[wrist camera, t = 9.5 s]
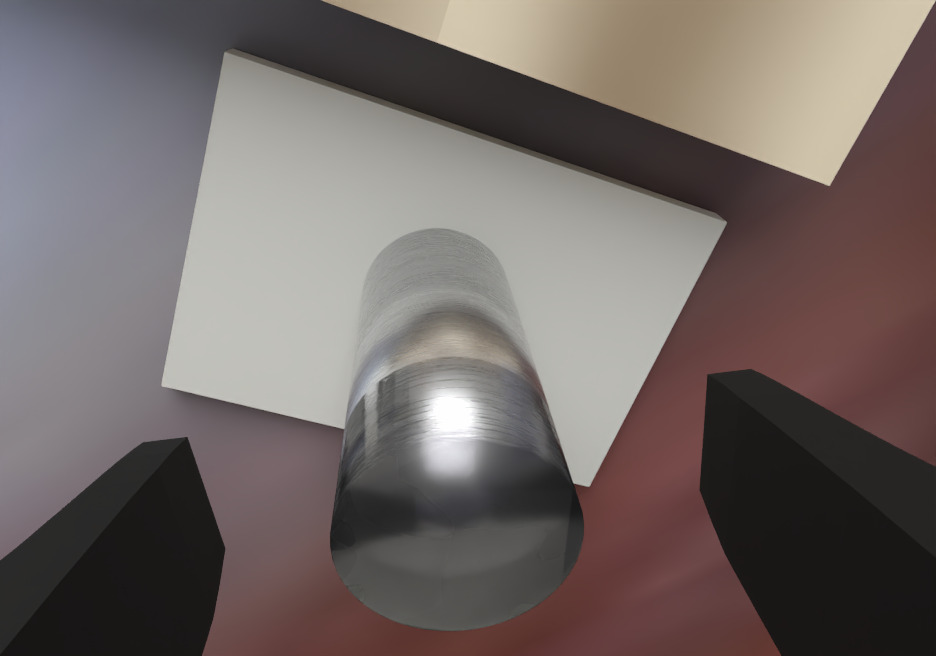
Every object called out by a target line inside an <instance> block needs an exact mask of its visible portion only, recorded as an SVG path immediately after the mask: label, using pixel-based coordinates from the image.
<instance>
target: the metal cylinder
mask: <svg viewBox="0 0 936 656" xmlns="http://www.w3.org/2000/svg"><path fill="white" fill-rule="evenodd" d="M583 536H584V521H583V513H582V509H581V506H580V502H579V499H578V496H577V493H576V490H575V487H574V484H573V481H572V478H571V475H570V471H569V468H568V465H567V462H566V459H565V456H564V453H563V450H562V447H561V444H560V440H559V437H558V434H557V431H556V428H555V425H554V422H553V419H552V416H551V413H550V410H549V406H548V403H547V400H546V397H545V394H544V391H543V388H542V385H541V382H540V379H539V376H538V372H537V369H536V366H535V363H534V360H533V357H532V354H531V351H530V348H529V345H528V341H527V338H526V335H525V332H524V329H523V326H522V323H521V320H520V317H519V314H518V311H517V307H516V304H515V301H514V298H513V295H512V292H511V289H510V286H509V283H508V280H507V277H506V273H505V271H504V269H503V267H502V264H501V263H500V261H499V260H498V258H497V257H496V255H495V254H494V253H493V252H492V251H491V250H490V249H489V248H488V247H487V246H486V245H485V244H483V243H482V242H480V241H479V240H477V239H476V238H474V237H472V236H470V235H468V234H465V233H462V232H459V231H456V230H451V229H442V228H432V229H424V230H418V231H415V232H412V233H408V234H406V235H404V236H402V237H400V238H398V239H396V240H395V241H393V242H392V243H390V244H389V245H388V246H387V247H385V248H384V249H383V250H382V251H381V252H380V254H379V255H378V256H377V257H376V258H375V260H374V261H373V263H372V264H371V266H370V268H369V270H368V272H367V275H366V278H365V282H364V288H363V294H362V302H361V309H360V317H359V324H358V332H357V339H356V346H355V354H354V361H353V369H352V376H351V384H350V391H349V398H348V406H347V413H346V421H345V428H344V436H343V443H342V450H341V458H340V465H339V473H338V480H337V488H336V495H335V502H334V510H333V517H332V525H331V532H330V547H331V554H332V559H333V562H334V565H335V568H336V570H337V572H338V574H339V576H340V578H341V580H342V582H343V583H344V584H345V585H346V587H347V588H348V589H349V591H350V592H351V593H352V594H353V595H354V596H355V597H356V598H357V599H358V600H359V601H360V602H362V603H363V604H364V605H366V606H367V607H368V608H370V609H371V610H373V611H374V612H376V613H378V614H380V615H381V616H383V617H386V618H388V619H390V620H393V621H395V622H398V623H401V624H404V625H407V626H411V627H416V628H421V629H426V630H436V631H461V630H472V629H477V628H483V627H488V626H491V625H495V624H498V623H502V622H504V621H507V620H509V619H512V618H515V617H517V616H519V615H521V614H523V613H525V612H527V611H529V610H530V609H532V608H533V607H535V606H536V605H538V604H540V603H541V602H542V601H544V600H545V599H546V598H547V597H549V596H550V595H551V594H552V593H553V592H554V591H555V590H556V589H557V588H558V587H559V586H560V585H561V584H562V583H563V581H564V580H565V579H566V577H567V576H568V575H569V574H570V572H571V570H572V568H573V567H574V565H575V563H576V561H577V558H578V556H579V553H580V551H581V546H582V542H583Z"/></svg>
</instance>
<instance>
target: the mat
mask: <svg viewBox="0 0 936 656" xmlns="http://www.w3.org/2000/svg"><path fill="white" fill-rule="evenodd" d="M726 224H727V222H726V221H725V220H724V219H722V218H721V217H720V216H719V215H717V214H716V213H714V212H711V211H708V210H705V209H702V208H699V207H696V206H693V205H690V204H687V203H685V202H682V201H679V200H676V199H673V198H670V197H667V196H664V195H661V194H658V193H655V192H652V191H649V190H646V189H643V188H641V187H638V186H635V185H632V184H629V183H626V182H623V181H620V180H617V179H614V178H611V177H608V176H605V175H602V174H600V173H597V172H594V171H591V170H588V169H585V168H582V167H579V166H576V165H573V164H570V163H567V162H564V161H561V160H558V159H556V158H553V157H550V156H547V155H544V154H541V153H538V152H535V151H532V150H529V149H526V148H523V147H520V146H517V145H515V144H512V143H509V142H506V141H503V140H500V139H497V138H494V137H491V136H488V135H485V134H482V133H479V132H476V131H473V130H471V129H468V128H465V127H462V126H459V125H456V124H453V123H450V122H447V121H444V120H441V119H438V118H435V117H432V116H430V115H427V114H424V113H421V112H418V111H415V110H412V109H409V108H406V107H403V106H400V105H397V104H394V103H391V102H388V101H386V100H383V99H380V98H377V97H374V96H371V95H368V94H365V93H362V92H359V91H356V90H353V89H350V88H347V87H345V86H342V85H339V84H336V83H333V82H330V81H327V80H324V79H321V78H318V77H315V76H312V75H309V74H306V73H303V72H301V71H298V70H295V69H292V68H289V67H286V66H283V65H280V64H277V63H274V62H271V61H268V60H265V59H262V58H260V57H257V56H254V55H251V54H248V53H245V52H242V51H239V50H236V49H233V48H231V49H229V50H227V51H225V52H224V57H223V62H222V68H221V73H220V78H219V83H218V89H217V94H216V99H215V105H214V110H213V115H212V120H211V126H210V131H209V136H208V142H207V147H206V152H205V157H204V163H203V168H202V173H201V179H200V184H199V189H198V194H197V200H196V205H195V210H194V215H193V221H192V226H191V231H190V237H189V242H188V247H187V252H186V258H185V263H184V268H183V274H182V279H181V284H180V289H179V295H178V300H177V305H176V311H175V316H174V321H173V326H172V332H171V337H170V342H169V348H168V353H167V358H166V363H165V369H164V374H163V379H162V385H161V386H164V387H168V388H172V389H177V390H181V391H185V392H189V393H194V394H198V395H202V396H206V397H210V398H215V399H219V400H223V401H227V402H232V403H236V404H240V405H244V406H249V407H253V408H257V409H261V410H266V411H270V412H274V413H278V414H282V415H287V416H291V417H295V418H299V419H304V420H308V421H312V422H316V423H321V424H325V425H329V426H333V427H337V428H342V429H344V428H345V421H346V413H347V406H348V398H349V391H350V384H351V376H352V369H353V361H354V354H355V346H356V339H357V332H358V324H359V317H360V309H361V302H362V294H363V288H364V282H365V278H366V275H367V272H368V270H369V268H370V266H371V264H372V263H373V261H374V260H375V258H376V257H377V256H378V255H379V254H380V252H381V251H382V250H383V249H384V248H385V247H387V246H388V245H389V244H390V243H392V242H393V241H395V240H396V239H398V238H400V237H402V236H404V235H406V234H408V233H412V232H415V231H418V230H424V229H432V228H442V229H451V230H456V231H459V232H462V233H465V234H468V235H470V236H472V237H474V238H476V239H477V240H479V241H480V242H482V243H483V244H485V245H486V246H487V247H488V248H489V249H490V250H491V251H492V252H493V253H494V254H495V255H496V257H497V258H498V260H499V261H500V263H501V264H502V267H503V269H504V271H505V273H506V277H507V280H508V283H509V286H510V289H511V292H512V295H513V298H514V301H515V304H516V307H517V311H518V314H519V317H520V320H521V323H522V326H523V329H524V332H525V335H526V338H527V341H528V345H529V348H530V351H531V354H532V357H533V360H534V363H535V366H536V369H537V372H538V376H539V379H540V382H541V385H542V388H543V391H544V394H545V397H546V400H547V403H548V406H549V410H550V413H551V416H552V419H553V422H554V425H555V428H556V431H557V434H558V437H559V440H560V444H561V447H562V450H563V453H564V456H565V459H566V462H567V465H568V468H569V471H570V475H571V478H572V481H573V483H574V484H579V485H583V486H587V487H589V486H590V484H591V482H592V481H593V479H594V477H595V475H596V473H597V471H598V469H599V467H600V465H601V463H602V461H603V459H604V458H605V456H606V454H607V452H608V450H609V448H610V446H611V444H612V442H613V440H614V438H615V436H616V435H617V433H618V431H619V429H620V427H621V425H622V423H623V421H624V419H625V417H626V415H627V413H628V412H629V410H630V408H631V406H632V404H633V402H634V400H635V398H636V396H637V394H638V392H639V391H640V389H641V387H642V385H643V383H644V381H645V379H646V377H647V375H648V373H649V371H650V369H651V368H652V366H653V364H654V362H655V360H656V358H657V356H658V354H659V352H660V350H661V348H662V346H663V345H664V343H665V341H666V339H667V337H668V335H669V333H670V331H671V329H672V327H673V325H674V323H675V322H676V320H677V318H678V316H679V314H680V312H681V310H682V308H683V306H684V304H685V302H686V300H687V299H688V297H689V295H690V293H691V291H692V289H693V287H694V285H695V283H696V281H697V279H698V278H699V276H700V274H701V272H702V270H703V268H704V266H705V264H706V262H707V260H708V258H709V256H710V255H711V253H712V251H713V249H714V247H715V245H716V243H717V241H718V239H719V237H720V235H721V233H722V232H723V230H724V228H725V226H726Z"/></svg>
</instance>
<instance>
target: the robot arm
mask: <svg viewBox="0 0 936 656" xmlns="http://www.w3.org/2000/svg"><path fill="white" fill-rule="evenodd" d="M700 492H701V495H702V497H703V500H704V503H705V505H706V508H707V510H708V513H709V516H710V518H711V521H712V524H713V526H714V528H715V531H716V533H717V536H718V538H719V541H720V543H721V545H722V548H723V550H724V553H725V555H726V556H727V558H728V560H729V562H730V564H731V566H732V568H733V570H734V571H735V573H736V575H737V577H738V579H739V580H740V582H741V584H742V586H743V588H744V589H745V591H746V593H747V595H748V597H749V598H750V600H751V602H752V604H753V606H754V607H755V609H756V611H757V613H758V615H759V616H760V618H761V620H762V622H763V623H764V625H765V627H766V629H767V631H768V632H769V634H770V636H771V638H772V639H773V641H774V643H775V645H776V647H777V648H778V650H779V652H780V654H781V655H782V656H936V467H935V466H933V465H931V464H929V463H927V462H925V461H923V460H921V459H919V458H917V457H915V456H913V455H911V454H909V453H907V452H905V451H903V450H901V449H899V448H897V447H895V446H894V445H892V444H890V443H888V442H886V441H884V440H882V439H880V438H878V437H877V436H875V435H873V434H871V433H869V432H867V431H865V430H864V429H862V428H860V427H858V426H856V425H854V424H853V423H851V422H849V421H847V420H845V419H844V418H842V417H840V416H838V415H836V414H834V413H833V412H831V411H829V410H827V409H825V408H824V407H822V406H820V405H818V404H816V403H815V402H813V401H811V400H809V399H808V398H806V397H804V396H802V395H800V394H799V393H797V392H795V391H793V390H791V389H789V388H788V387H786V386H784V385H782V384H780V383H778V382H776V381H775V380H773V379H771V378H769V377H767V376H765V375H763V374H761V373H759V372H756V371H754V370H752V369H748V370H739V371H731V372H723V373H715V374H708V376H707V391H706V405H705V420H704V434H703V449H702V463H701V477H700ZM224 554H225V546H224V543H223V540H222V537H221V534H220V532H219V529H218V526H217V523H216V520H215V517H214V514H213V511H212V508H211V505H210V502H209V499H208V496H207V493H206V490H205V487H204V485H203V482H202V479H201V476H200V473H199V470H198V467H197V464H196V461H195V458H194V455H193V452H192V449H191V446H190V443H189V440H188V437H184V438H176V439H167V440H159V441H151V442H143V443H141V444H140V445H139V446H137V447H136V448H135V449H133V450H132V451H131V452H129V453H128V454H127V455H125V456H124V457H123V458H122V459H120V460H119V461H118V462H117V463H116V464H114V465H113V466H112V467H111V468H110V469H108V470H107V471H106V472H105V473H104V474H102V475H101V476H100V477H99V478H98V479H97V480H95V481H94V482H93V483H92V484H91V485H90V486H88V487H87V488H86V489H85V490H84V491H83V492H81V493H80V494H79V495H78V496H77V497H76V498H74V499H73V500H72V501H71V502H70V503H69V504H67V505H66V506H65V507H64V508H63V509H62V510H60V511H59V512H58V513H57V514H56V515H54V516H53V517H52V518H51V519H50V520H49V521H47V522H46V523H45V524H44V525H43V526H42V527H40V528H39V529H38V530H37V531H36V532H34V533H33V534H32V535H31V536H30V537H29V538H27V539H26V540H25V541H24V542H23V543H22V544H20V545H19V546H18V547H17V548H15V549H14V550H13V551H12V552H11V553H9V554H8V555H7V556H5V557H4V558H3V559H2V560H0V656H202V654H203V650H204V647H205V644H206V641H207V637H208V634H209V631H210V627H211V624H212V621H213V617H214V612H215V606H216V601H217V596H218V591H219V585H220V579H221V573H222V566H223V560H224Z"/></svg>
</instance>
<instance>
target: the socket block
mask: <svg viewBox="0 0 936 656" xmlns="http://www.w3.org/2000/svg"><path fill="white" fill-rule="evenodd" d="M322 1H324V2H327V3H330V4H332V5H335V6H338V7H341V8H343V9H346V10H349V11H352V12H354V13H357V14H360V15H363V16H365V17H368V18H371V19H374V20H376V21H379V22H382V23H385V24H387V25H390V26H393V27H395V28H398V29H401V30H404V31H406V32H409V33H412V34H415V35H417V36H420V37H423V38H426V39H428V40H431V41H434V42H437V43H439V44H442V45H445V46H448V47H450V48H453V49H456V50H459V51H461V52H464V53H467V54H469V55H472V56H475V57H478V58H480V59H483V60H486V61H489V62H491V63H494V64H497V65H500V66H502V67H505V68H508V69H511V70H513V71H516V72H519V73H522V74H524V75H527V76H530V77H533V78H535V79H538V80H541V81H543V82H546V83H549V84H552V85H554V86H557V87H560V88H563V89H565V90H568V91H571V92H574V93H576V94H579V95H582V96H585V97H587V98H590V99H593V100H596V101H598V102H601V103H604V104H606V105H609V106H612V107H615V108H617V109H620V110H623V111H626V112H628V113H631V114H634V115H637V116H639V117H642V118H645V119H648V120H650V121H653V122H656V123H659V124H661V125H664V126H667V127H670V128H672V129H675V130H678V131H680V132H683V133H686V134H689V135H691V136H694V137H697V138H700V139H702V140H705V141H708V142H711V143H713V144H716V145H719V146H722V147H724V148H727V149H730V150H733V151H735V152H738V153H741V154H743V155H746V156H749V157H752V158H754V159H757V160H760V161H763V162H765V163H768V164H771V165H774V166H776V167H779V168H782V169H785V170H787V171H790V172H793V173H796V174H798V175H801V176H804V177H807V178H809V179H812V180H815V181H817V182H820V183H823V184H826V185H828V186H830V184H831V182H832V181H833V179H834V177H835V175H836V174H837V172H838V170H839V168H840V167H841V165H842V163H843V161H844V160H845V158H846V156H847V154H848V153H849V151H850V149H851V147H852V146H853V144H854V142H855V141H856V139H857V137H858V135H859V134H860V132H861V130H862V128H863V127H864V125H865V123H866V121H867V120H868V118H869V116H870V114H871V113H872V111H873V109H874V107H875V106H876V104H877V102H878V100H879V99H880V97H881V95H882V93H883V92H884V90H885V88H886V86H887V85H888V83H889V81H890V79H891V78H892V76H893V74H894V72H895V71H896V69H897V67H898V65H899V64H900V62H901V60H902V58H903V57H904V55H905V53H906V51H907V50H908V48H909V46H910V44H911V43H912V41H913V39H914V37H915V36H916V34H917V32H918V30H919V29H920V27H921V25H922V24H923V22H924V20H925V18H926V17H927V15H928V13H929V11H930V10H931V8H932V6H933V4H934V3H935V1H936V0H322Z"/></svg>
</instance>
